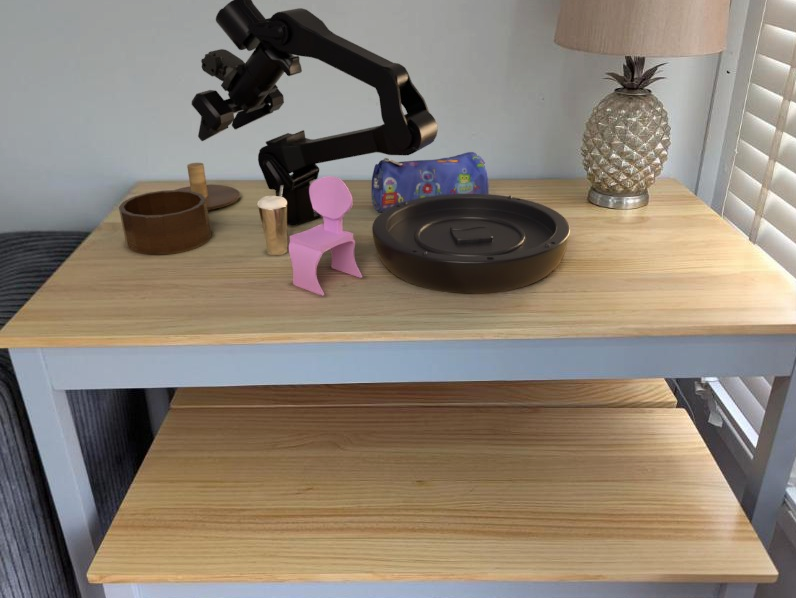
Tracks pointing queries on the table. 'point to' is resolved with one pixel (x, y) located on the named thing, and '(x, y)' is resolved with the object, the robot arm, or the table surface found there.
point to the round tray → (470, 242)
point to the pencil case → (427, 179)
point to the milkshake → (274, 222)
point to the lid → (209, 188)
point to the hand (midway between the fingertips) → (217, 133)
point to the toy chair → (324, 235)
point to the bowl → (165, 222)
